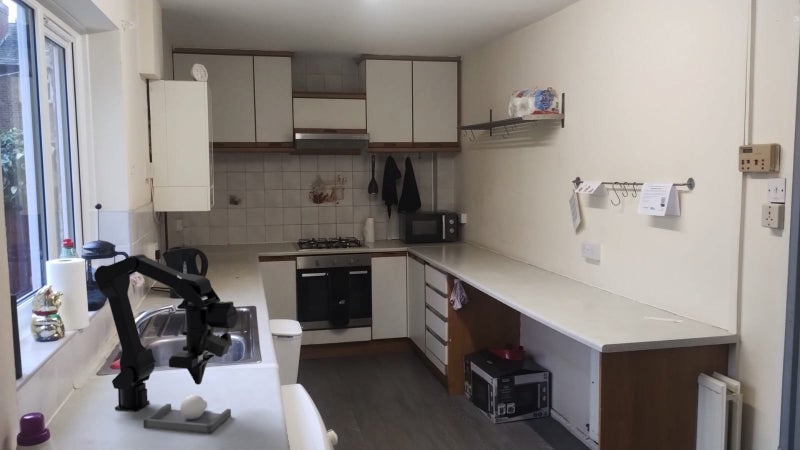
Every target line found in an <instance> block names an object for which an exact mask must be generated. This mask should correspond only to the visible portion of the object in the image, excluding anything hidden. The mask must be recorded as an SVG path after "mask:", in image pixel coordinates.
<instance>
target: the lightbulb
mask: <svg viewBox="0 0 800 450" xmlns="http://www.w3.org/2000/svg"><path fill="white" fill-rule="evenodd" d="M179 407H180V410H181V413H182V415H183V416H184V417H185V418H187V419H191V420H193V419H197V418H199V417H200V416H201V415H202V414H203V413H204V412H205V411H206V409H207V408H208V402H207V401H206V400H205V399H204V398H203V397H202V396H200V395H198V394H191V395H187V396H186V397H185V398H184V399H183V400H182V401H181V404H180V406H179Z"/></svg>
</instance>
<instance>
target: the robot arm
mask: <svg viewBox="0 0 800 450" xmlns="http://www.w3.org/2000/svg"><path fill="white" fill-rule="evenodd" d="M93 273H94V274H93V277H94V280H95V283H96V286H97V287H98V290H99V291H100V293H102V294H103V295H104V296H105V297H106V299H107V300H108V303H109V307H110V311H111V314H112V318H113V322H114V325H115V329H116V333H117V336H118V340H119V343H120V348H121V354H120V358H119V369H120V370H119V371H120V372H119V373H118V374H116V376H115V377H114V378H113V379H112V381H111V384H112V386H113V389H114V390H115V389H116V390H117V392H118V393H117V396H118V400H117V401H118V405H116V406H115V407H114V410H120V411H131V412H138V411H139V410H141V409H142V408H143V407H145V406H146V405H148V404H149V403H150V400H149V399H148V389H147V386H146V381H148V380H149V379H150V377H151V374H152V373H153V372H154V370H155V363H156V360H155V358H154V354H153V350H152V348H148V349H147V348H145V346H144V345H143V344H142V342H141V338H140V334H139V330H138V327H137V323H136V319H135V316H134V312H133V309H132V305H131V302H130V298H129V293H128V292H129V290H130V289H129V288H130V284H131V279H130V276H131V275H133V274H135V273H137V274H140V275H142V276H144V277H146V278H149V279H151V280H154V281H156V282H158V283H160V284H162V285H164V286H166V287H168V288H171V289H172V290H173V292H174V293H175V295H177V296H178V297H179V298H180V299H182V302H181V303H180V304H178V305H177V306H176V307H177V309H178V310H184V311H185V312H184V313H185V314H184V315H185V317H184V318H185V319H184V320H185V330H183V331H182V336H185V345H184V346H182V352H181V351H179V352H177V353H175V354H173V355H171V357H169V358H168V367H169V368H174V369H186V370H187V371H188V373H189V374H190V376H191V378H192V379H193V380H192V381H193V382H194V383H195V385H198V386H199V385H201V384H202V382H203V378H204V374H205V371H206V368H207V365H208V363H209V362H210V360H212V359H213V358H214V357H218V358H222V357H224V355H226V354H228V353H229V350H230V347H231V346H233V341H232V337H231V336H232V335H231V333H228V332H227V331H226V332H224V333H222V334H221V335H220V334H218V335H216V334H214V330H213V328H216V329H217V328H218V329H219V328H220V329H230V330H232V329H234V328H235V327H236V325H237V323H238V319H239V312H238V311H237V307H235V306H234V301H221V298H220V297H219V296H218V294H217V293H216V291H215V289H214V288H213V287H212V284H211V280H210V279H209V278H207V277H205V276H202V275H199V274H193V273H184V272H181V271H178V270H177V269H174V268H172V267H170V266H167V265H165V264H163V263H161V262H158V261H157V260H154V259H152V258H149V257H148V256H147V255H145V254H142V253H139V254H133V255H129V256H127V258H126V257H125V258H124V259H122V260H120V261H119V260H118V261H117V262H112V263H111V262H110V263H108V264H103V265H100V266H98V267H97V268H96V270H95V272H93Z"/></svg>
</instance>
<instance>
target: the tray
mask: <svg viewBox="0 0 800 450" xmlns="http://www.w3.org/2000/svg"><path fill="white" fill-rule="evenodd" d="M231 411H232V410H231V408H226V409H225V410H224V411H222V412H221V413H218V412H217V413H216V412H205V411H204V413H203V414H202V415H201V416H200V417H199V418H197V419H193V420H191V419H187V418H185V417H184V416H183V415H182V413H181V410H179V409H172V403H167V404H165V405H163V406H162V407H160V408H159V409H157V410H156V411H154V412H153V413H152V414H150V415H148V416H147V417H146V418H144V419H142V420H143V422H142V423H143V428H144V429H151V428H152V429H153V430H163V431H174V432H184V433H185V432H186V433H196V434H197V433H198V434H205V435H206V434H208V435H212V433H214V432H215V431H216V430H217V429H219V427H220V426H222V425H223V424H224V423H225V422H226V421H227V420H229V418H231V417H232V412H231Z"/></svg>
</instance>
